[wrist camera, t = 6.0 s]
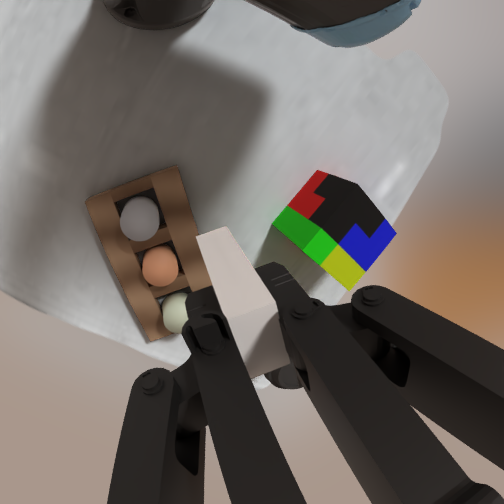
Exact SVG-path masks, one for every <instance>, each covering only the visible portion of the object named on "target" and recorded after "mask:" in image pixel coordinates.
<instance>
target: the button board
mask: <svg viewBox="0 0 504 504" xmlns="http://www.w3.org/2000/svg"><path fill="white" fill-rule="evenodd" d="M151 188H154V190H155V193H156V195H157V198H158V201H159V204H160V207H161V210H162V213H163V216H164V219H165V221H166V222H165V223H162V224H160V225H159V227H158V230H157V232H156V233H155V235H154V236H153V237H151V238H150V239H148V240H145V241H134V240H131V239H129V238H128V237H127V236H125V234H124V233H123V232H122V230H121V227H120V218H121V212H120V209H119V206H118V204H117V201H119V200H121V199H124V198H127V197H129V196H132V195H135V194H137V193H140V192H143V191H145V190H148V189H151ZM85 204H86V206H87V209H88V211H89V214H90V216H91V219H92V221H93V224H94V226H95V229H96V231H97V233H98V236H99V238H100V241H101V243H102V245H103V247H104V250H105V252H106V254H107V256H108V259H109V261H110V263H111V265H112V267H113V269H114V272H115V274H116V276H117V278H118V280H119V282H120V284H121V286H122V288H123V290H124V292H125V294H126V296H127V298H128V300H129V302H130V304H131V306H132V308H133V310H134V312H135V314H136V316H137V318H138V319H139V321H140V323H141V325H142V327H143V329H144V330H145V332H146V334H147V336H148V338H149V339H150V341H153V340H156V339H159V338H162V337H165V336H168V335H171V334H174V333H173V332H171V331H169V330H168V329H167V328H166V327H165V325H164V321H163V310H162V308H161V306H160V304H159V301H158V299H157V297H160V296H162V295H165V294H168V293H171V292H174V291H177V290H179V289H182V288H185V287H188V286H190V288H191V290H192V292H194V291H197V290H200V289H202V288H205V287H208V286H211V285H212V282H211V279H210V276H209V273H208V271H207V268H206V265H205V262H204V259H203V256H202V254H201V251H200V248H199V245H198V242H197V239H196V236H198V235H199V233H198V230H197V227H196V224H195V221H194V218H193V215H192V212H191V208H190V205H189V202H188V199H187V196H186V193H185V190H184V186H183V183H182V180H181V177H180V173H179V170H178V167H177V165H175V166H172V167H169V168H166V169H163V170H160V171H157V172H155V173H152V174H149V175H146V176H143V177H141V178H138V179H135V180H133V181H130V182H127V183H125V184H122V185H119V186H117V187H114V188H112V189H109V190H107V191H104V192H102V193H99V194H97V195H95V196H92V197H90V198H88V199H87V200H86V201H85ZM170 240H172V241H173V243H174V246H175V249H176V252H177V254H178V257H179V260H180V262H181V265H182V267H183V269H180V270H178V275H177V277H176V279H175V280H174V281H173V282H172V283H171V284H169V285H166V286H161V287H159V286H154V285H152V284H150V283H149V282H147V281H146V279H145V278H144V276H143V271H142V268H143V266H142V264H141V261H140V259H139V257H138V254H137V252H139V251H142V250H145V249H148V248H150V247H153V246H156V245H159V244H161V243H164V242H167V241H170Z"/></svg>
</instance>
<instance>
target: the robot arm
mask: <svg viewBox="0 0 504 504" xmlns="http://www.w3.org/2000/svg"><path fill="white" fill-rule="evenodd" d="M103 1H104V4H105V6H106V8H107V9H108V11H109V12H110V13H111V14H112V16H114V17H115V18H116V19H117V20H119V21H120V22H122V23H124V24H126V25H128V26H131V27H135V28H139V29H146V30H160V29H168V28H173V27H176V26H180V25H182V24H185V23H187V22H189V21H191V20H193V19H195V18H197V17H198V16H200V15H201V14H202V13H204V12H205V11H206V10H207V9H208V8H209V7H210V6H211V5H212V3H213V2H214V0H103ZM244 1H246V2H248V3H250V4H252V5H254V6H257V7H259V8H260V9H262V10H264V11H266V12H268V13H270V14H272V15H274V16H276V17H278V18H279V19H281V20H283V21H285V22H287V23H288V24H290V25H291V27H292V28H294V29H295V30H297V31H300V32H305V33H307V34H309V35H311V36H313V37H314V38H316V39H318V40H320V41H321V42H323V43H325V44H327V45H330V46H333V47H345V48H351V47H357V46H361V45H365V44H368V43H370V42H373V41H375V40H377V39H379V38H381V37H383V36H385V35H387V34H389V33H390V32H392V31H393V30H395V29H396V28H398V27H399V26H400V25H402V24H403V23H404V22H405V21H406V20H407V19H408V18H409V17H410V16H411V15H412V12H411V10H412V9H415V8H417V7H418V6H419V4H420V2H421V0H244ZM196 239H197V242H198V245H199V248H200V251H201V254H202V256H203V259H204V262H205V265H206V268H207V271H208V273H209V276H210V279H211V282H212V285H211V286H208V287H205V288H202V289H200V290H197V291H194V292H191V293H188V296H187V298H186V300H185V307H186V311H187V317H188V320H187V321H186V322H185V324H184V325H183V327H182V332H181V334H182V336H183V338H184V340H185V342H186V344H187V346H188V348H189V350H190V352H191V356H190V357H189V359H188V360H187V361H186V362H185V363H184V364H182V365H181V366H180V367H178V368H177V369H175V370H173V371H172V372H170V371H169V370H166V369H164V368H153V369H150V370H147V371H146V372H144V373H142V374H141V375H140V376H139V377H138V378H137V379H136V380H135V382H134V384H133V386H132V389H131V393H130V397H129V401H128V405H127V409H126V413H125V417H124V422H123V426H122V430H121V435H120V439H119V444H118V449H117V453H116V458H115V463H114V468H113V473H112V479H111V484H110V490H109V495H108V501H107V504H204V469H205V468H204V467H205V436H206V428H205V426H207V425H209V429H210V432H211V436H212V440H213V443H214V447H215V451H216V454H217V458H218V461H219V465H220V468H221V471H222V474H223V478H224V481H225V484H226V488H227V491H228V494H229V497H230V500H231V503H232V504H307V503H306V501H305V499H304V497H303V495H302V493H301V491H300V489H299V486H298V484H297V482H296V480H295V478H294V476H293V474H292V472H291V470H290V467H289V465H288V463H287V461H286V459H285V457H284V454H283V452H282V450H281V448H280V446H279V443H278V441H277V439H276V437H275V434H274V432H273V430H272V427H271V425H270V423H269V421H268V419H267V416H266V414H265V411H264V409H263V407H262V405H261V402H260V400H259V398H258V395H257V393H256V390H255V388H254V386H253V383H252V381H251V379H252V378H255V377H257V376H260V375H262V374H265V373H268V372H270V371H273V370H275V369H278V368H280V367H283V366H285V365H288V364H290V359H289V357H290V358H291V360H292V362H293V364H294V367H295V372H296V376H297V381H298V385H299V388H300V387H302V385H303V387H304V389H305V391H306V392H307V394H308V396H309V398H310V399H311V401H312V403H313V405H314V406H315V408H316V410H317V412H318V413H319V415H320V417H321V419H322V420H323V422H324V424H325V425H326V427H327V429H328V431H329V432H330V434H331V436H332V437H333V439H334V441H335V443H336V444H337V446H338V448H339V449H340V451H341V453H342V454H343V456H344V458H345V459H346V461H347V463H348V465H349V466H350V468H351V469H352V471H353V473H354V475H355V476H356V478H357V480H358V481H359V483H360V485H361V486H362V488H363V489H364V491H365V493H366V495H367V496H368V498H369V500H370V501H371V503H372V504H504V499H503V498H502V497H501V495H500V494H499V493H498V492H497V491H496V490H495V489H493V488H492V487H490V486H488V485H486V484H479V483H475V482H473V481H472V480H471V479H470V478H469V477H468V476H467V475H466V474H465V472H464V471H463V470H462V469H461V467H460V466H459V465H458V463H457V462H456V461H455V460H454V458H453V457H452V456H451V455H450V453H449V452H448V451H447V450H446V449H445V447H444V446H443V445H442V443H441V442H440V441H439V440H438V439H437V437H436V436H435V435H434V434H433V432H432V431H431V430H430V429H429V427H428V426H427V425H426V424H425V423H424V421H423V420H422V419H421V418H420V416H419V415H418V414H417V413H416V412H415V411H414V409H413V408H412V407H414V408H415V409H417V410H418V411H419V412H421V413H422V414H423V415H425V416H426V417H428V418H429V419H431V420H432V421H433V422H435V423H436V424H437V425H439V426H440V427H442V428H443V429H445V430H446V431H447V432H449V433H450V434H452V435H453V436H455V437H456V438H457V439H459V440H460V441H462V442H463V443H465V444H466V445H467V446H469V447H470V448H472V449H474V450H475V451H477V452H478V453H479V454H481V455H482V456H483V457H485V458H487V459H488V460H489V461H491V462H492V463H494V464H495V465H497V466H498V467H500V468H501V469H503V470H504V350H503V349H501V348H499V347H498V346H496V345H494V344H492V343H490V342H489V341H487V340H485V339H483V338H481V337H479V336H478V335H476V334H474V333H472V332H470V331H468V330H466V329H464V328H462V327H460V326H459V325H457V324H455V323H453V322H451V321H449V320H448V319H445V318H444V317H442V316H440V315H438V314H436V313H434V312H432V311H430V310H428V309H426V308H424V307H423V306H421V305H419V304H416V303H415V302H413V301H411V300H409V299H407V298H405V297H403V296H401V295H399V294H397V293H395V292H393V291H391V290H390V289H388V288H385V287H382V286H376V285H370V286H365V287H362V288H360V289H358V290H357V291H356V292H355V293H354V294H353V295H352V299H351V303H346V304H342V305H334V306H327V305H325V304H324V303H323V302H321V301H320V300H318V299H315V298H310V297H309V296H308V295H307V293H306V292H305V291H304V290H303V289H302V287H301V286H300V285H299V284H298V283H297V281H296V280H295V279H294V278H293V277H292V276H291V274H289V272H288V271H287V270H286V268H285V267H284V266H283V265H280V264H278V263H275V262H272V263H269V264H266V265H264V266H261V267H258V268H255V269H254V268H253V266H252V265H251V263H250V262H249V260H248V259H247V257H246V255H245V254H244V252H243V251H242V249H241V248H240V246H239V245H238V243H237V242H236V240H235V238H234V237H233V235H232V234H231V232H230V231H229V229H228V228H227V226H225V227H222V228H219V229H216V230H213V231H210V232H207V233H204V234H201V235H198V236H196ZM410 405H411V406H412V407H411V406H410Z"/></svg>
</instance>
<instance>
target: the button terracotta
mask: <svg viewBox="0 0 504 504" xmlns="http://www.w3.org/2000/svg"><path fill="white" fill-rule="evenodd" d="M142 271H143V276H144V278H145V279H146V281H147V282H149V283H150V284H152V285H154V286H159V287H161V286H166V285H169V284H171V283H172V282H173V281H174V280H175V279H176V277H177V275H178V264H177V259H176V254H175V252H174V250H173V249H172V248H171V247H170V246H168V245H166V244H162V243H161V244H159V245H156V246H153V247H150V248H148V249H146V251H145V253H144V255H143V268H142Z"/></svg>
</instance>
